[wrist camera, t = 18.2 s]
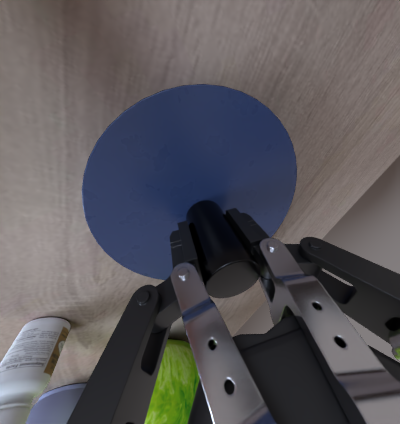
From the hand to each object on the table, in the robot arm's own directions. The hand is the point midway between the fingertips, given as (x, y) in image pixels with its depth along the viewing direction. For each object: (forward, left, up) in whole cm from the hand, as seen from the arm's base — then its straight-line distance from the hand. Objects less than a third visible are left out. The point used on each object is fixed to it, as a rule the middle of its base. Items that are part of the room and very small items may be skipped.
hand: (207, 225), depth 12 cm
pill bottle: (+11, -20, -3) cm, 23 cm away
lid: (0, 0, -2) cm, 2 cm away
